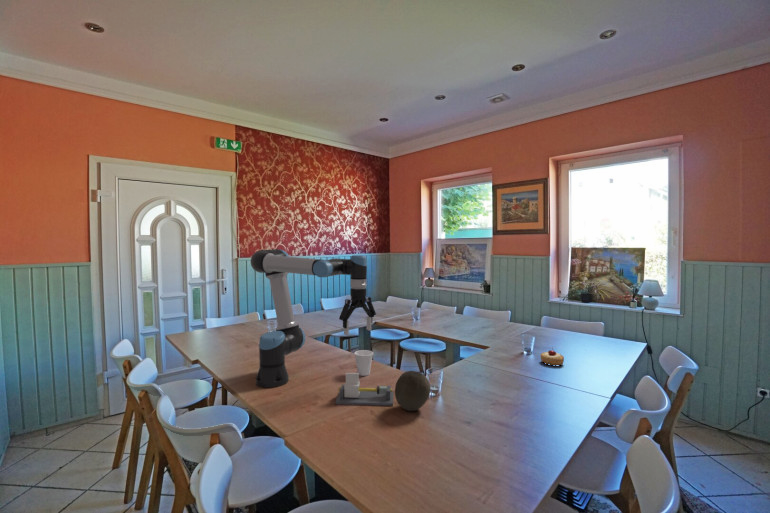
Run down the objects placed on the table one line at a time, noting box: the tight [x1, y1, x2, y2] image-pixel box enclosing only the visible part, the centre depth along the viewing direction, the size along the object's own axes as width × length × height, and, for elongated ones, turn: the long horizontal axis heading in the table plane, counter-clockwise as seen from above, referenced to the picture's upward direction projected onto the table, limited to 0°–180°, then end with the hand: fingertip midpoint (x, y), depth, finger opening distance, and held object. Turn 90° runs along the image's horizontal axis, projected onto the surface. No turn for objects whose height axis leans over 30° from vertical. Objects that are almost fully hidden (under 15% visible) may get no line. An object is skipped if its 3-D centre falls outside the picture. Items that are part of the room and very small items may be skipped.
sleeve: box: [344, 372, 361, 398], centre depth 155 cm, size 6×5×10 cm
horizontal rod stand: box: [334, 384, 395, 407], centre depth 154 cm, size 24×12×6 cm, turn 87°
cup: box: [353, 349, 374, 377], centre depth 184 cm, size 10×10×11 cm
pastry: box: [540, 347, 565, 366], centre depth 201 cm, size 12×12×9 cm
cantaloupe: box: [394, 370, 431, 412], centre depth 145 cm, size 14×14×15 cm
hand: (357, 332), depth 170 cm, fingers open, 13 cm apart
